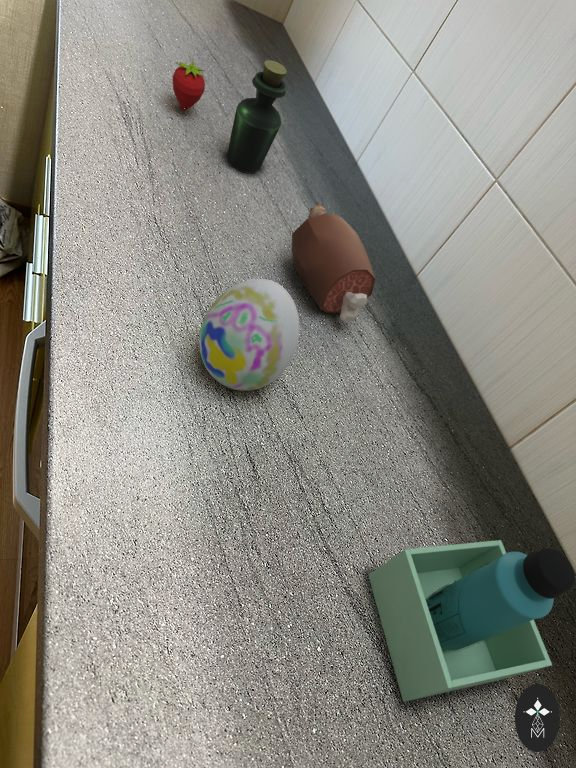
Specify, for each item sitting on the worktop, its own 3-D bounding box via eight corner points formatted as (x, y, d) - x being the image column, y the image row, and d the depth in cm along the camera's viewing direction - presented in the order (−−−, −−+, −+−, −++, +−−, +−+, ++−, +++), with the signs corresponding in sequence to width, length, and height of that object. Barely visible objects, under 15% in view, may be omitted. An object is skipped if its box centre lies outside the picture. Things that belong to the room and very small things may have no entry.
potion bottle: (264, 156, 109) (298, 64, 96) (264, 181, 105) (300, 88, 91) (222, 143, 107) (251, 46, 94) (221, 168, 102) (251, 70, 89)
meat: (372, 332, 91) (404, 288, 84) (310, 335, 86) (338, 288, 78) (326, 243, 101) (351, 196, 93) (268, 241, 95) (289, 191, 87)
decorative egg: (171, 353, 75) (198, 272, 63) (235, 318, 82) (269, 239, 71) (235, 419, 72) (275, 346, 61) (295, 376, 80) (340, 304, 69)
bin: (458, 564, 72) (501, 539, 65) (500, 679, 65) (552, 665, 58) (368, 574, 66) (404, 549, 60) (402, 702, 59) (448, 688, 53)
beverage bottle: (466, 658, 64) (601, 610, 49) (414, 653, 62) (538, 602, 47) (456, 598, 68) (579, 538, 53) (407, 592, 66) (519, 527, 51)
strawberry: (169, 118, 105) (180, 65, 98) (165, 95, 109) (175, 42, 102) (200, 125, 108) (213, 73, 100) (195, 102, 112) (207, 51, 104)
